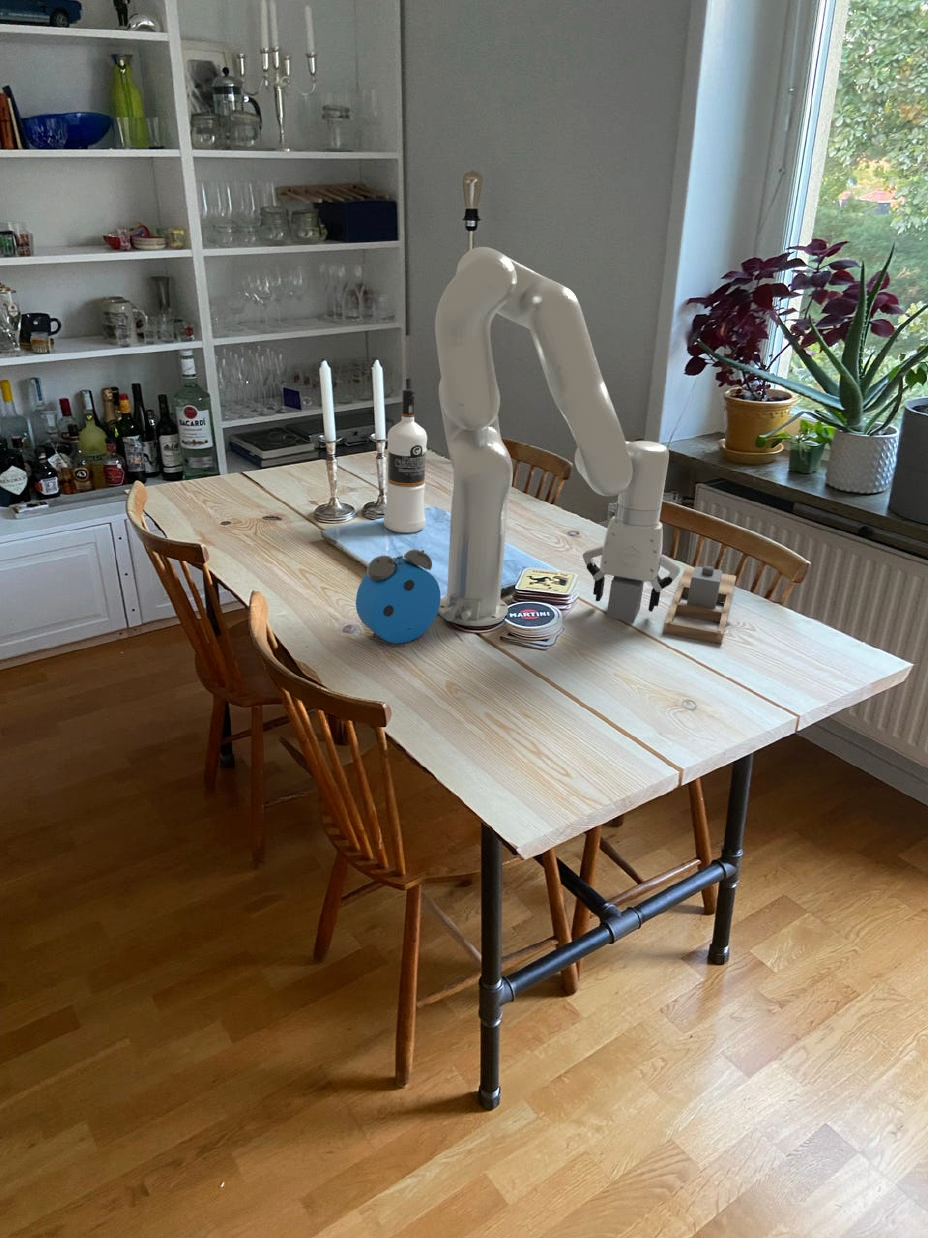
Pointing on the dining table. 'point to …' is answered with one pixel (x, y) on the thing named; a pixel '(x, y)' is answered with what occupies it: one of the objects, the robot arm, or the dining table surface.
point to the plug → (624, 599)
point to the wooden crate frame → (699, 610)
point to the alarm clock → (398, 597)
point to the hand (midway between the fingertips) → (624, 603)
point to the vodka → (406, 471)
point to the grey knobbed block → (704, 587)
